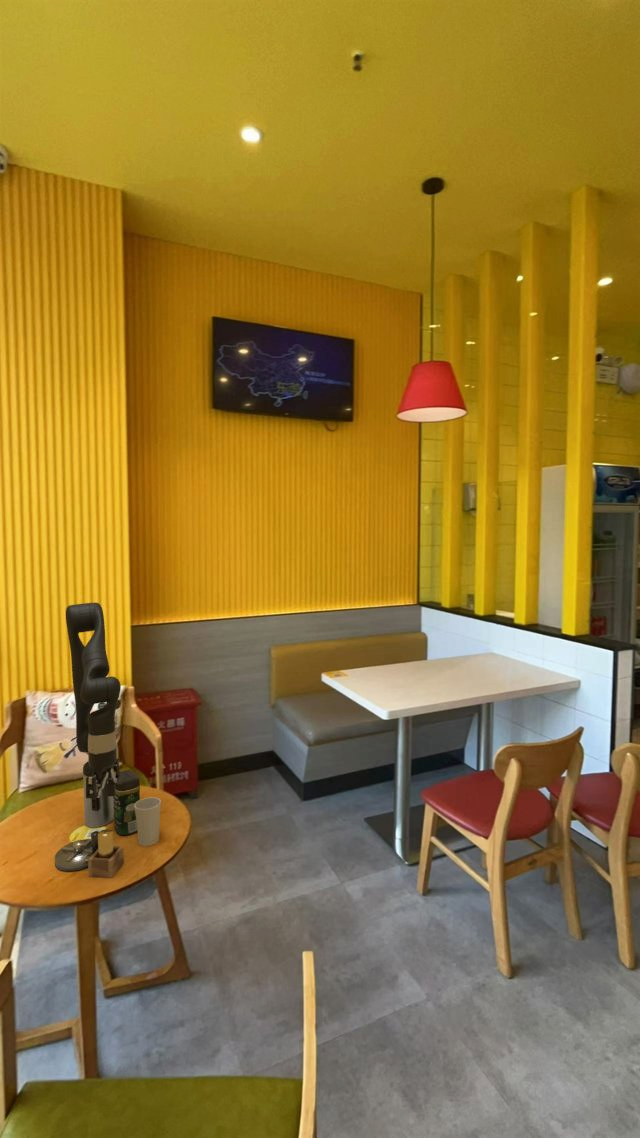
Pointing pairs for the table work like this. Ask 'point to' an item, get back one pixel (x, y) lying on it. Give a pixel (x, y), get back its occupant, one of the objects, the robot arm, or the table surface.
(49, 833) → the table surface
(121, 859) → the block
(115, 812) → the coffee jar
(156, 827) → the cup
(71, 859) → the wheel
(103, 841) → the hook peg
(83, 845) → the axle cap
